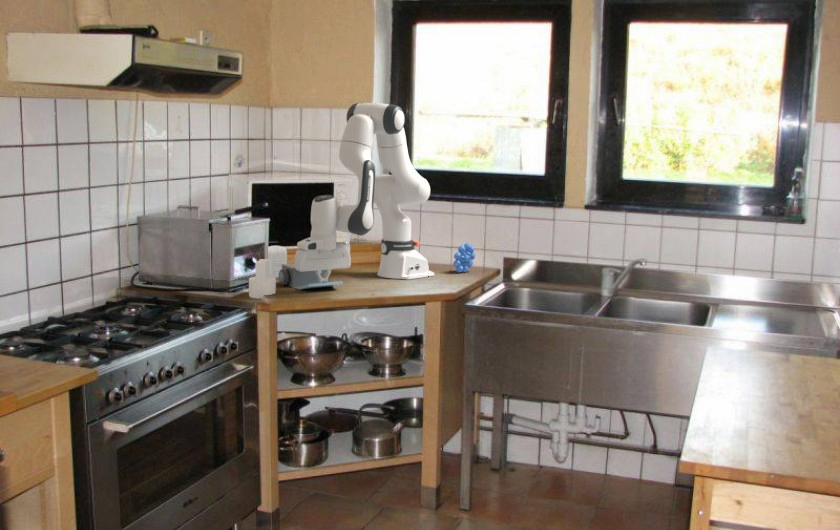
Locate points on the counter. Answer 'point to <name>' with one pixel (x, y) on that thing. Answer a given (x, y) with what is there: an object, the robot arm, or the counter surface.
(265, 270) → the base with upright slab
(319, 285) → the side door
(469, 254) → the grapes
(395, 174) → the robot arm
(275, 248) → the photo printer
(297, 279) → the camera body
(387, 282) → the counter surface
